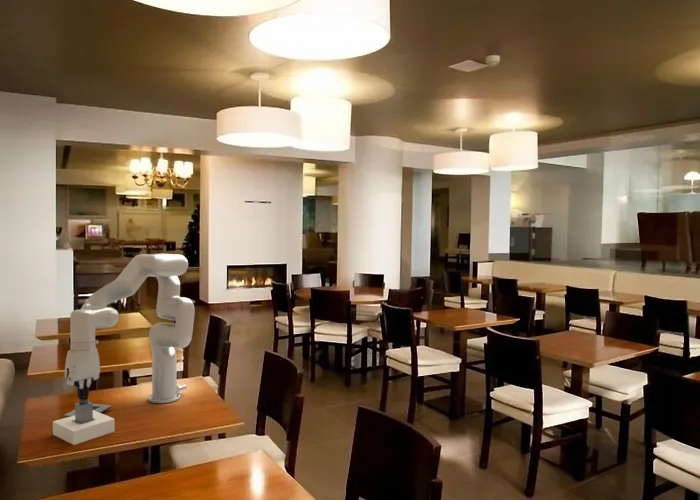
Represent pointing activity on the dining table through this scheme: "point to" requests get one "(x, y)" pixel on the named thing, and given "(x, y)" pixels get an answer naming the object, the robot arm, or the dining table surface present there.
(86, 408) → the plug
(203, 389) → the dining table surface
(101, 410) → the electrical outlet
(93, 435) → the socket
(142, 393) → the dining table surface
